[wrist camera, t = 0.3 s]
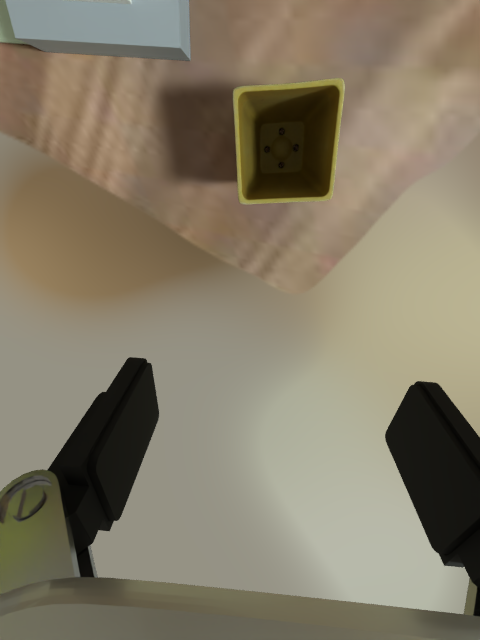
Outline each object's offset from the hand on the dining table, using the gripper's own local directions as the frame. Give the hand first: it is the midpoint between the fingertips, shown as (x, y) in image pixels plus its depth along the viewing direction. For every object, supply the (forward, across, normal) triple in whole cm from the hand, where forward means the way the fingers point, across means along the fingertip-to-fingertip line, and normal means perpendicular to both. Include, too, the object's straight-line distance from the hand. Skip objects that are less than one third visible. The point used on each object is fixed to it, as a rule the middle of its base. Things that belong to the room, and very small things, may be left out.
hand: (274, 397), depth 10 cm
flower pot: (+30, -1, -8) cm, 31 cm away
